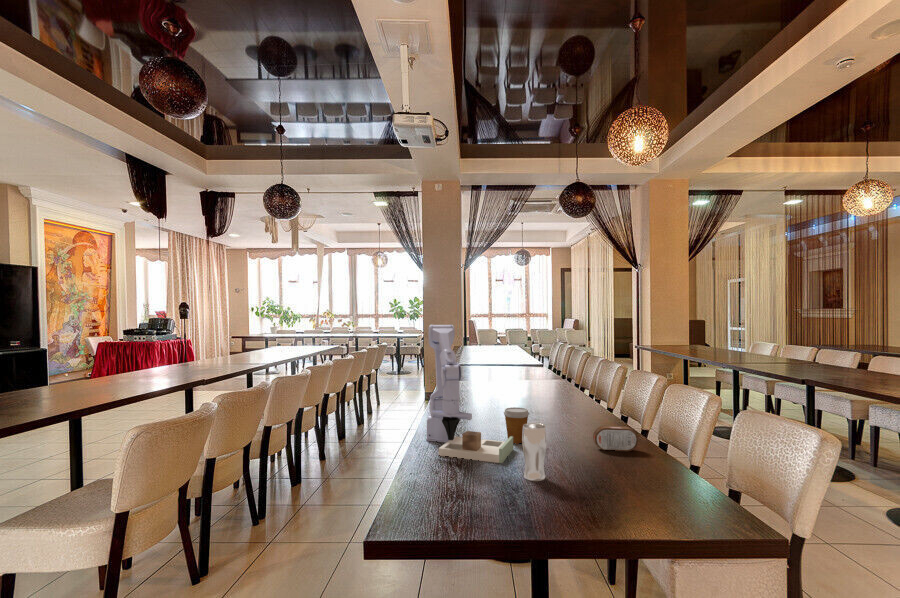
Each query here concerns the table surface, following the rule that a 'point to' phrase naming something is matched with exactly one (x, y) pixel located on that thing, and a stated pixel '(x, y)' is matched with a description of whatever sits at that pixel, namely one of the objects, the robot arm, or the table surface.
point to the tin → (615, 438)
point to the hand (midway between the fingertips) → (451, 439)
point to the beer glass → (534, 451)
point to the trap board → (479, 450)
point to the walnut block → (471, 440)
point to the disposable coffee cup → (515, 422)
